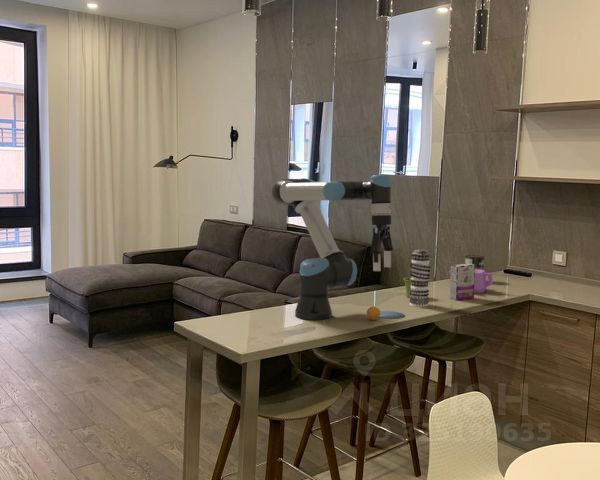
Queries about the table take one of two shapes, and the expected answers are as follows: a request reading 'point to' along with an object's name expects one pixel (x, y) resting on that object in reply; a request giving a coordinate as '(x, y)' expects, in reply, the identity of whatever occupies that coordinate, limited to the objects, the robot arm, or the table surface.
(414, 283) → the decorative candle
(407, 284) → the plant pot
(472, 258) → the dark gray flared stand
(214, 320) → the table surface
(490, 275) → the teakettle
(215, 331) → the table surface
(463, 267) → the candy bar box
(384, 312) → the disc
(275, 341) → the table surface
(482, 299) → the table surface
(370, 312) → the ball
